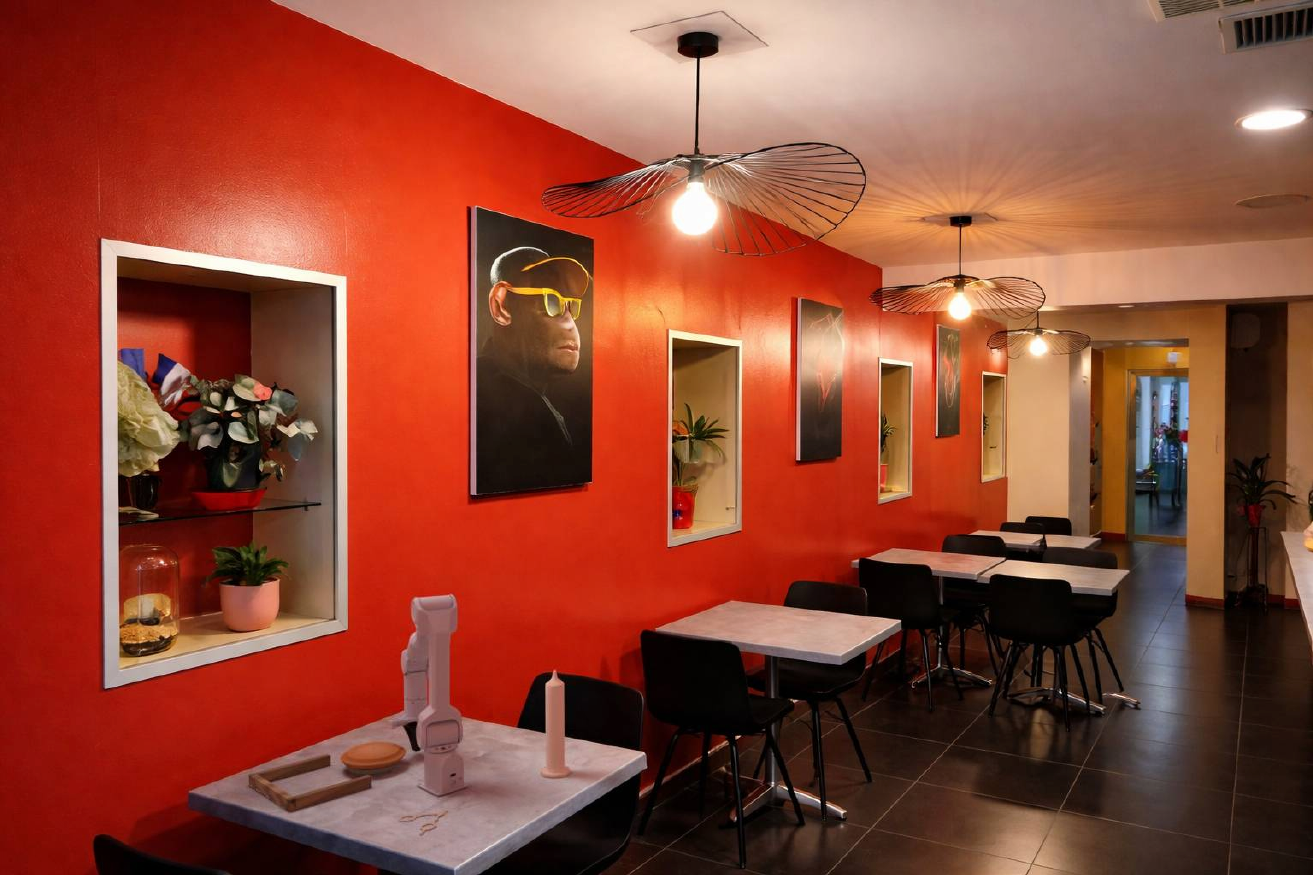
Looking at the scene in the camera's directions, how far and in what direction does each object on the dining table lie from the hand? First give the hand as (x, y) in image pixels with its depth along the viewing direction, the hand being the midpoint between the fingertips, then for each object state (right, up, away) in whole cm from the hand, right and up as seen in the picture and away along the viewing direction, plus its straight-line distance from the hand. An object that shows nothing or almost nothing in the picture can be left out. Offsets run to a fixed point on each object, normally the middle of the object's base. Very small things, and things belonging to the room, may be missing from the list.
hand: (416, 750), depth 239 cm
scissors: (+15, -2, -36) cm, 39 cm away
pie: (-8, -2, -8) cm, 12 cm away
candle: (+37, -2, -12) cm, 39 cm away
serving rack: (-19, -2, -19) cm, 27 cm away
